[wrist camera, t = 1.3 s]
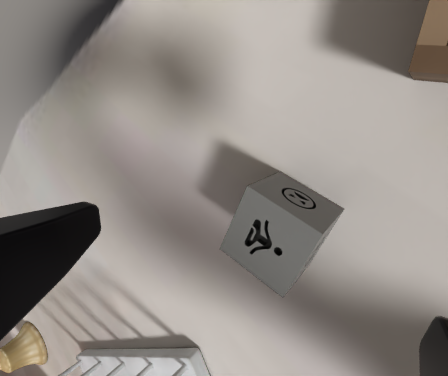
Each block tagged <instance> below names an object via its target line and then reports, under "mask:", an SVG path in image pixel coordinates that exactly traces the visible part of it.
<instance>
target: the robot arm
mask: <svg viewBox="0 0 448 376" xmlns="http://www.w3.org/2000/svg"><path fill="white" fill-rule="evenodd" d="M100 231H101V223H100V215H99V209H98V207H97V206H96V205H94V204H91V203H88V202H79V203H74V204H69V205H64V206H59V207H54V208H49V209H44V210H39V211H33V212H28V213H23V214H18V215H13V216H8V217H3V218H0V341H1V340H2V339H3V338H4V337H5V336H6V335H7V334H8V333H9V332H10V331H11V330H12V329H13V328H14V327H15V326H16V325H17V324H18V323H19V322H20V321H21V320H22V319H23V318H24V317H25V316H26V315H27V314H28V313H29V312H30V311H31V310H32V309H33V308H34V307H35V306H36V305H37V304H38V303H39V302H40V301H41V299H42V298H43V297H44V296H45V295H46V294H47V293H48V292H49V291H50V290H51V289H52V288H53V287H54V286H55V285H56V284H57V283H58V282H59V281H60V280H61V279H62V278H63V277H64V276H65V275H66V274H67V273H68V272H69V271H70V269H71V268H72V267H73V266H74V265H75V263H76V262H77V261H78V260H79V259H80V257H81V256H82V255H83V254H84V253H85V251H86V250H87V249H88V248H89V247H90V245H91V244H92V243H93V242H94V240H95V239H96V238H97V237H98V235H99V234H100ZM419 360H420V376H448V318H445V317H442V316H437V317H435V318H434V319H433V321H432V323H431V324H430V326H429V328H428V330H427V331H426V333H425V335H424V337H423V338H422V340H421V343H420V349H419Z"/></svg>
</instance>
